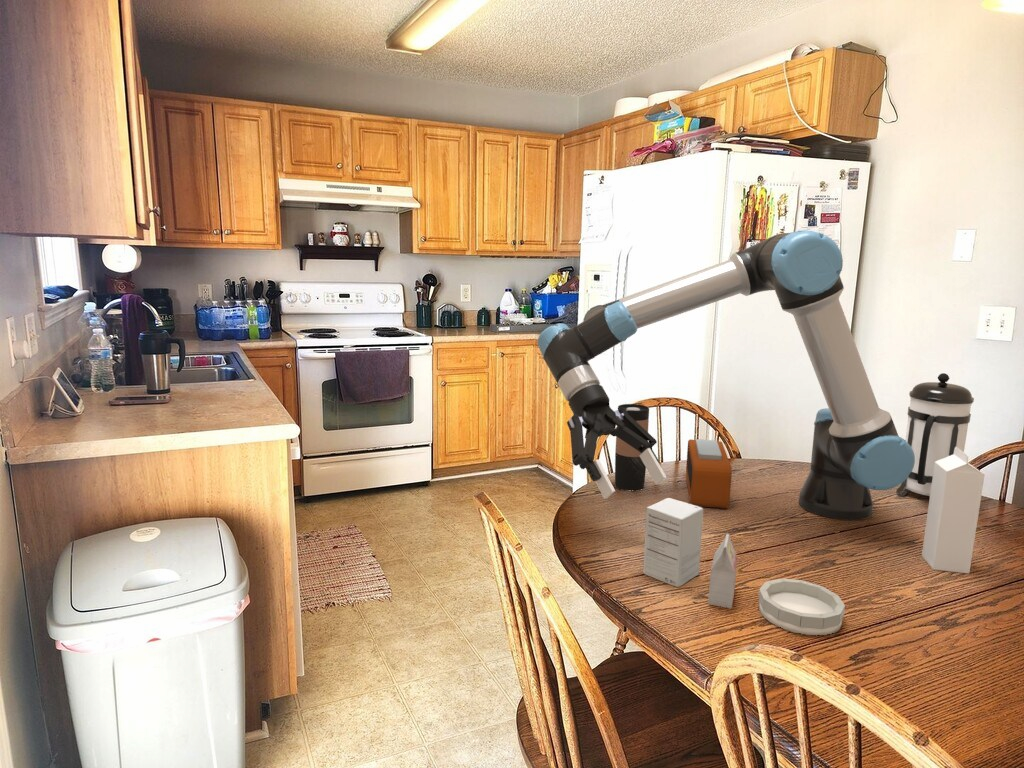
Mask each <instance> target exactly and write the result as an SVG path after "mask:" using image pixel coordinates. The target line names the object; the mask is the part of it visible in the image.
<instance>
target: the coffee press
mask: <svg viewBox="0 0 1024 768" xmlns="http://www.w3.org/2000/svg"><path fill="white" fill-rule="evenodd" d="M937 379H938V381H939V382H938V381H937V382H934V381H933V382H932V381H931V382H921V383H918V384H916V385H915V386H913V388H912V390H911V391H909V393H908V395H909V398H910V399H909V400H910V401H909V406H908V407H907V408H908V409H907V416H908V417H907V425H906V430H905V431H906V432H905V438H904V440H906V442H907V443H908V444H909V445H910V446H911V448H912V449H913V452H914V455H915V463H914V468H913V470H912V472H910V474H909V475H908V478H907V479H906V480H905V481H904V482H903V483H901V484H900V485H899V486H898V488H897V489H896V491H895V492H896V494H897V495H898V496H900V497H904V496H906V495H908V493H910V492H913V493H915V494H919V495H923V496H928V497H930V493H931V486H932V478H933V471H934V464H935V462H936V461H938V460H941V459H943V458H946V457H948V456H951V455H953V454H954V448H955V447H957V448H958V449H960V450H961V451H963V452H964V453H965V449H966V440H967V434H968V428H969V427H968V426H969V423H970V421H971V416H972V414H971V407H972V405H973V404H974V401H975V398H974V397H973V396H972V393H971V391H970V390H969V389H968V388H966V387H964V386H962V385H958V384H953V383H947V382H948V381H949V380H950V376H949V374H947V373H943V372H942V373H940V374H939V375H938V376H937Z"/></svg>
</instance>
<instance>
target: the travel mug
mask: <svg viewBox="0 0 1024 768" xmlns="http://www.w3.org/2000/svg"><path fill="white" fill-rule="evenodd" d="M620 407H624V408H625V410H626V411H627V413H628V414H629V415H630V416H631V417H632V418H633V419H634V420H635V421H636V422H637V423H638V424H639V425H640V426H641V427H643V428H644V429H645V430H646V431H647V432H648V433H649V422H650V421H649V417H650V407H648V406H646V405H644V404H635V403H623V404H620V405H619V404H618V406H617V410H618V409H619V408H620ZM641 446H642V445H641ZM642 447H643V446H642ZM614 449H615V455H614V457H615V458H614V486H615V488H617V489H618V488H619V490H621V489H623V490H622V491H626V490H631V491H630V492H637V491H636V490H639V491H642V490H643V489H644V488H645V482H646V481H645V480H646V470H647V468H646V467H645V465H644V463H643V461H642V460H641V458H640V456H639V455H641V454H642V453H641V452H639V451H638V450H636V449H635V448H633V447H632V446H630V445H629V444H627V443H626V442H624V441H623V440H621V439H620V438H618V437H617V436H615V448H614ZM641 489H642V490H641ZM632 490H633V491H632Z"/></svg>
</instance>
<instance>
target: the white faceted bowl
mask: <svg viewBox="0 0 1024 768" xmlns="http://www.w3.org/2000/svg"><path fill="white" fill-rule="evenodd" d="M758 601H759V603H758V605H759V606H758V610H759V612H760V613H761V615H762V616H763V618H764V619H765V620H766V621H768V622H769V623H771V624H773V625H774V624H775V625H774V626H776V627H778V628H780V627H781V628H780V629H782V628H783V630H785V631H788V632H791V633H795V634H798V633H801V634H800V635H803V634H806V635H805V636H811V635H816V636H815V637H818V636H817V635H824V636H828V635H827V634H830V635H833V634H835V633H837V632H838V631H839V630H840V629H841V628H842V623H843V619H844V616H845V609H846V608H845V607H846V605H845V603H844V602H843V600H842V598H841V597H840V596H839V595H838V594H837V593H834V592H833V591H832V590H829V589H828V588H826V587H824V586H823V585H819V584H815V583H813V582H808V581H805V580H801V579H794V578H793V579H791V578H778V579H772V580H767V581H765V582H764V583H763V584H762V585H761V587H760V588H759V590H758ZM832 633H833V634H832Z"/></svg>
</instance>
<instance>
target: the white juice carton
mask: <svg viewBox="0 0 1024 768" xmlns="http://www.w3.org/2000/svg"><path fill="white" fill-rule="evenodd" d="M711 563H712V564H711V568H710V573H709V574H710V575H709V588H708V601H707V604H708V605H710V604H711V605H712V606H715V605H717V607H720V606H721V608H726V607H727V608H726V609H731V608H732V609H733V603H734V596H735V590H736V588H735V587H736V578H737V577H736V576H737V568H738V567H737V565H738V555H737V553H736V550H735V548H734V546H733V544H732V540H731V536H730V533H726V535H725V537H724V538H723V540H722V542H721V543H720V545H719V547H717V549H716V551H715V553H714V554H713V559H712V562H711Z"/></svg>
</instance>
